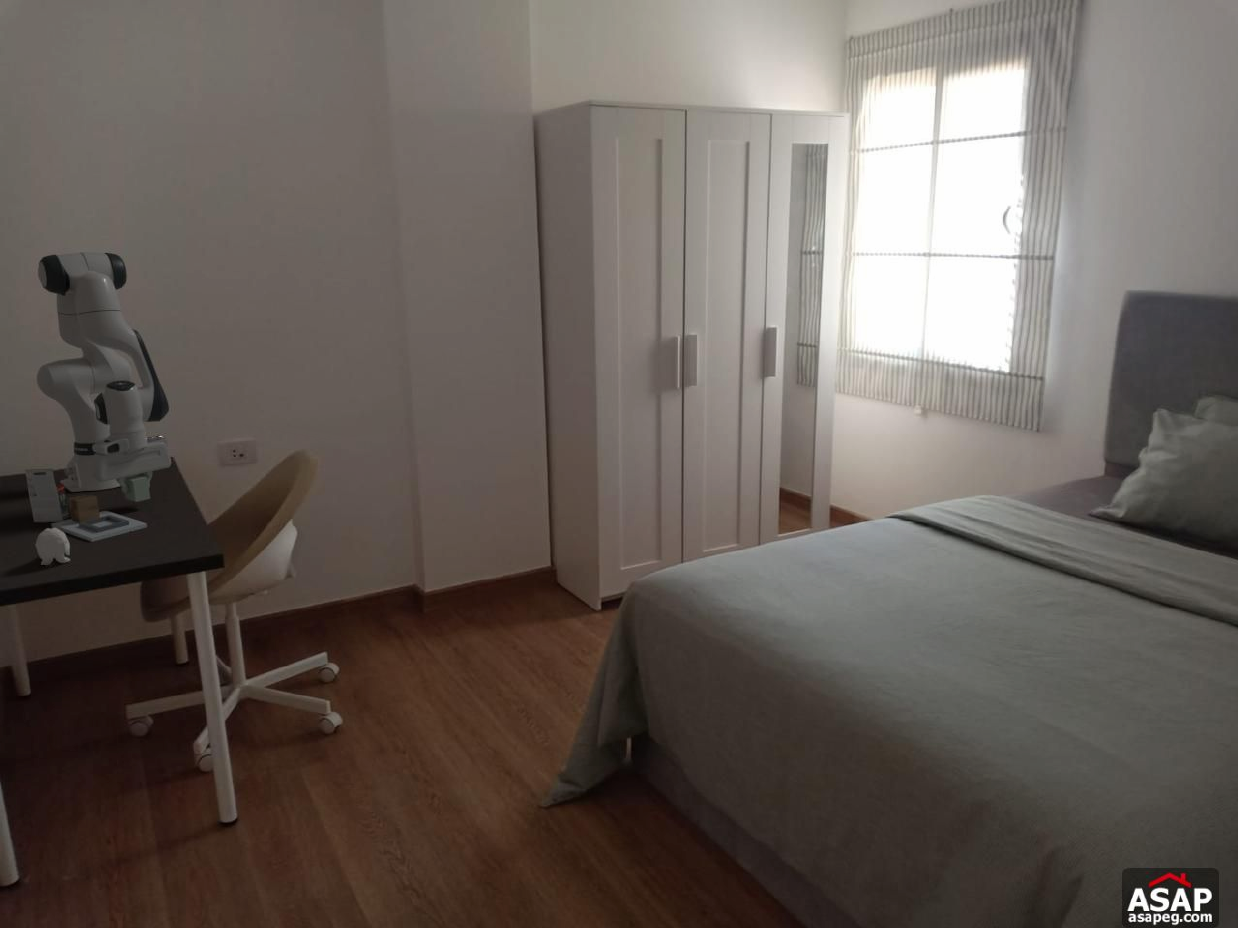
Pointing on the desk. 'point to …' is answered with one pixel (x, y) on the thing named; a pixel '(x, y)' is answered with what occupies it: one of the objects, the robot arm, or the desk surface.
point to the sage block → (137, 488)
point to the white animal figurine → (52, 546)
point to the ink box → (46, 497)
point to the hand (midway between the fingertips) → (136, 489)
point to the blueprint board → (95, 520)
